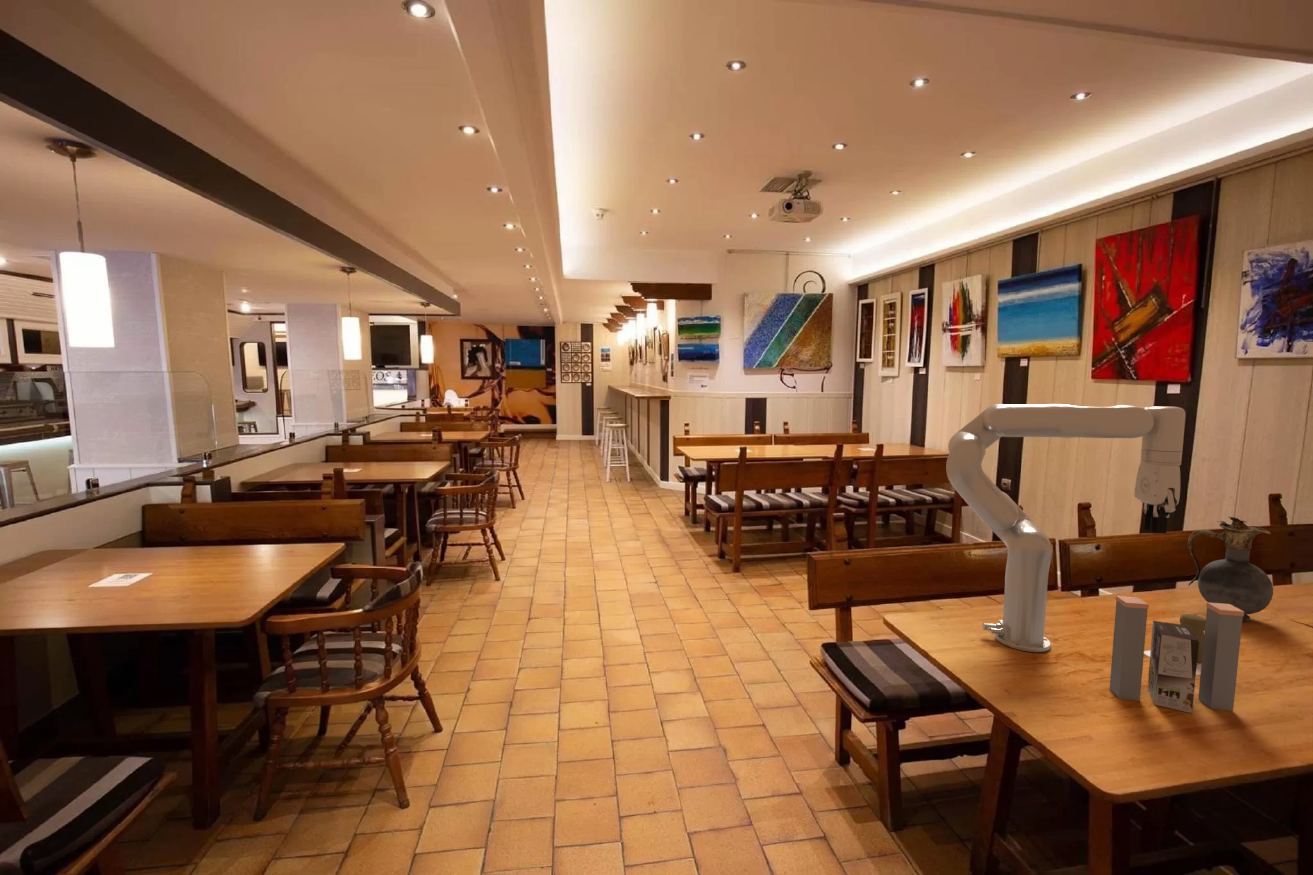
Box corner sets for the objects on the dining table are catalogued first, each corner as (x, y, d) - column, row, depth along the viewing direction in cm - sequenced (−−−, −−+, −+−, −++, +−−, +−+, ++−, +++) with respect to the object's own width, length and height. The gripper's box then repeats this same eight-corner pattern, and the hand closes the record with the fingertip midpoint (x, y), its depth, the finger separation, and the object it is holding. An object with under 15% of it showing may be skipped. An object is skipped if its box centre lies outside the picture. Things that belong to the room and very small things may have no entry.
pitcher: (1263, 630, 163) (1274, 525, 160) (1175, 607, 179) (1184, 512, 176) (1274, 621, 169) (1285, 520, 166) (1188, 600, 185) (1197, 508, 182)
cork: (1212, 664, 144) (1217, 621, 143) (1184, 662, 145) (1188, 619, 144) (1195, 653, 150) (1199, 612, 149) (1168, 651, 151) (1172, 610, 150)
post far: (1210, 708, 125) (1220, 609, 122) (1197, 698, 129) (1206, 602, 127) (1234, 711, 124) (1244, 611, 121) (1220, 700, 128) (1229, 604, 126)
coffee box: (1193, 714, 123) (1200, 640, 121) (1154, 705, 126) (1160, 633, 124) (1183, 694, 130) (1190, 625, 129) (1146, 686, 134) (1152, 618, 132)
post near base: (1118, 698, 129) (1126, 602, 127) (1108, 688, 133) (1116, 595, 131) (1140, 701, 128) (1148, 604, 126) (1130, 691, 132) (1137, 597, 130)
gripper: (1125, 452, 150) (1119, 522, 152) (1162, 461, 134) (1155, 539, 136) (1159, 453, 148) (1153, 524, 150) (1201, 462, 133) (1193, 541, 134)
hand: (1154, 530), depth 143 cm, fingers closed
